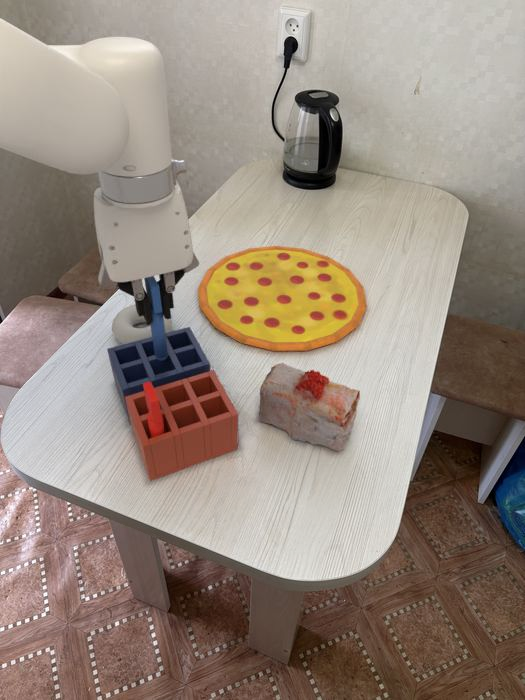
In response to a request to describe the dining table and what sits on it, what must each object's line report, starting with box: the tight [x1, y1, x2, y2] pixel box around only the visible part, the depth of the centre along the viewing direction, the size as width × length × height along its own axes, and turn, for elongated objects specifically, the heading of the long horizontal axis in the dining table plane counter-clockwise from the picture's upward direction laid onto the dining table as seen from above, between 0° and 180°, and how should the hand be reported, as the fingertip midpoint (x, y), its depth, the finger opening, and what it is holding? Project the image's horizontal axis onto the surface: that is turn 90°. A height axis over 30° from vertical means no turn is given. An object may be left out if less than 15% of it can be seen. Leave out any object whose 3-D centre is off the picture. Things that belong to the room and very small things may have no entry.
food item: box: [258, 362, 361, 453], centre depth 71 cm, size 14×8×10 cm, turn 66°
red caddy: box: [125, 369, 239, 482], centre depth 69 cm, size 13×9×8 cm
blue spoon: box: [143, 276, 168, 361], centre depth 66 cm, size 2×3×14 cm, turn 25°
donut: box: [111, 304, 173, 345], centre depth 86 cm, size 10×3×10 cm
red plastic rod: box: [143, 381, 165, 438], centre depth 64 cm, size 2×3×14 cm, turn 26°
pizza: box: [197, 245, 368, 352], centre depth 96 cm, size 32×32×1 cm
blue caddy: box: [107, 326, 211, 427], centre depth 75 cm, size 13×9×8 cm
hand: (155, 314), depth 65 cm, fingers closed on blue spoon, 1 cm apart
